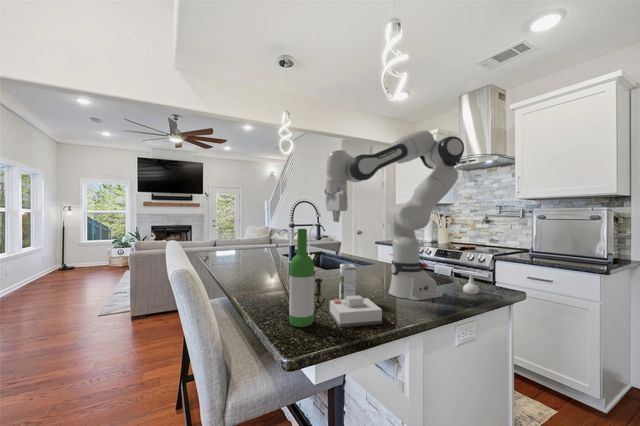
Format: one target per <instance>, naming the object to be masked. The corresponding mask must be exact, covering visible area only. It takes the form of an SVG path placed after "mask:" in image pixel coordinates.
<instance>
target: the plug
mask: <svg viewBox="0 0 640 426" xmlns="http://www.w3.org/2000/svg"><path fill="white" fill-rule="evenodd" d="M363 303H364V299H363V297H362V295H360V294H359V295H357V294H356V296H346V307H347V308H357V307H363Z"/></svg>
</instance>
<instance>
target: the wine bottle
mask: <svg viewBox="0 0 640 426" xmlns="http://www.w3.org/2000/svg"><path fill="white" fill-rule="evenodd" d="M307 233H308V231H307V228H297V240H296V241H297V243H296V247H297V249H296V251H297V252H296V254H295V255H294V256H293V257H292V258H291V261H290V263H289V292H288V293H289V296H288V297H289V299H288V300H289V304H288V307H289V308H288V309H289V310H288V311H289V315H288V316H289V318H288V319H289V323H290V325H291V326H293V327H295V328H296V327H297V328H306V327H310V326H311V325H312V324H313V323H314V319H315V317H314V316H315V314H314V313H315V264H314V261H313V259H312V257H311V256H310V255H309V254H308V252H307V251H308V250H307V248H308V246H307V245H308V236H307Z"/></svg>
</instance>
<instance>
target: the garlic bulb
mask: <svg viewBox="0 0 640 426" xmlns="http://www.w3.org/2000/svg"><path fill="white" fill-rule="evenodd" d="M462 289H463V290H462V291H463V292H464V293H465V294H471V295H477V294H479V292H480V288H479V286H478V285H477V284H475V282H474V277H473V274H469V280H468V282H467V283H466V284H464V285H463V287H462Z"/></svg>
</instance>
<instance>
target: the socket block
mask: <svg viewBox="0 0 640 426" xmlns="http://www.w3.org/2000/svg"><path fill="white" fill-rule="evenodd" d="M362 298H363V297H362ZM363 299H364V303H363V307H357V308H347V307H346V300H339V298H335V299H334V298H333V299H332V300H329V315H330V317H332V319H333V320H334V322H335V323H336V324H337V325H338V327H339V328H348V327H357V326H370V325H372V326H373V325H380V324H383V323H382V321H383V309H382V308H380V307H379V306H378V305H377V304H375V302H373V301H372V300H370V299H369V298H368V297H366V298H365V297H364V298H363Z"/></svg>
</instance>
